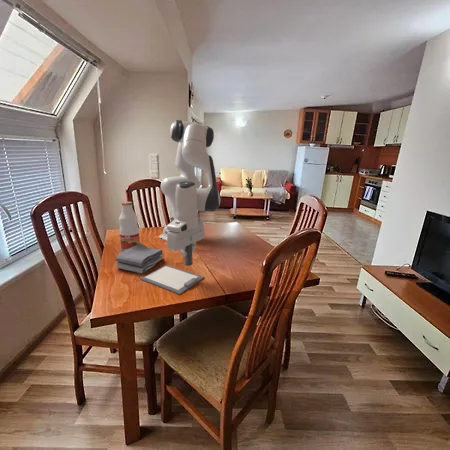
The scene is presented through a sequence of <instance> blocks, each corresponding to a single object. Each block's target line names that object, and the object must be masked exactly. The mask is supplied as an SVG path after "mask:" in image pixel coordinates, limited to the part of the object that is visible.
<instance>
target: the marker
mask: <svg viewBox="0 0 450 450" xmlns="http://www.w3.org/2000/svg"><path fill="white" fill-rule="evenodd" d="M190 241H192V236H190ZM185 248H186V249H185V251H186V252H187V256H185V257H183V260H184V262H183V263H184V266H186V267H190V266H192V265H193V261H194V260H193V253H192V243H191V244H190V245H188V246H186V247H185Z"/></svg>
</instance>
